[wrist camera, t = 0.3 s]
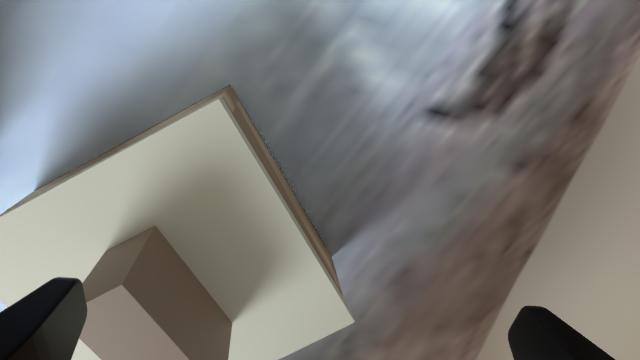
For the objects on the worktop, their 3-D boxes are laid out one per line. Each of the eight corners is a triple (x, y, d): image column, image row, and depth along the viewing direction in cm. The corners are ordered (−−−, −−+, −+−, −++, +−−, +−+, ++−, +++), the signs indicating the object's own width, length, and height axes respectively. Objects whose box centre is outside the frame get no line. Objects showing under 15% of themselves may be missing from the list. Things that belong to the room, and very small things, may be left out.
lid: (144, 413, 21) (110, 518, 16) (-42, 237, 16) (-160, 318, 12) (351, 311, 20) (375, 392, 16) (220, 95, 15) (202, 123, 11)
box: (167, 339, 25) (144, 409, 21) (33, 191, 21) (-34, 239, 16) (331, 257, 25) (346, 310, 20) (230, 84, 20) (219, 102, 15)
